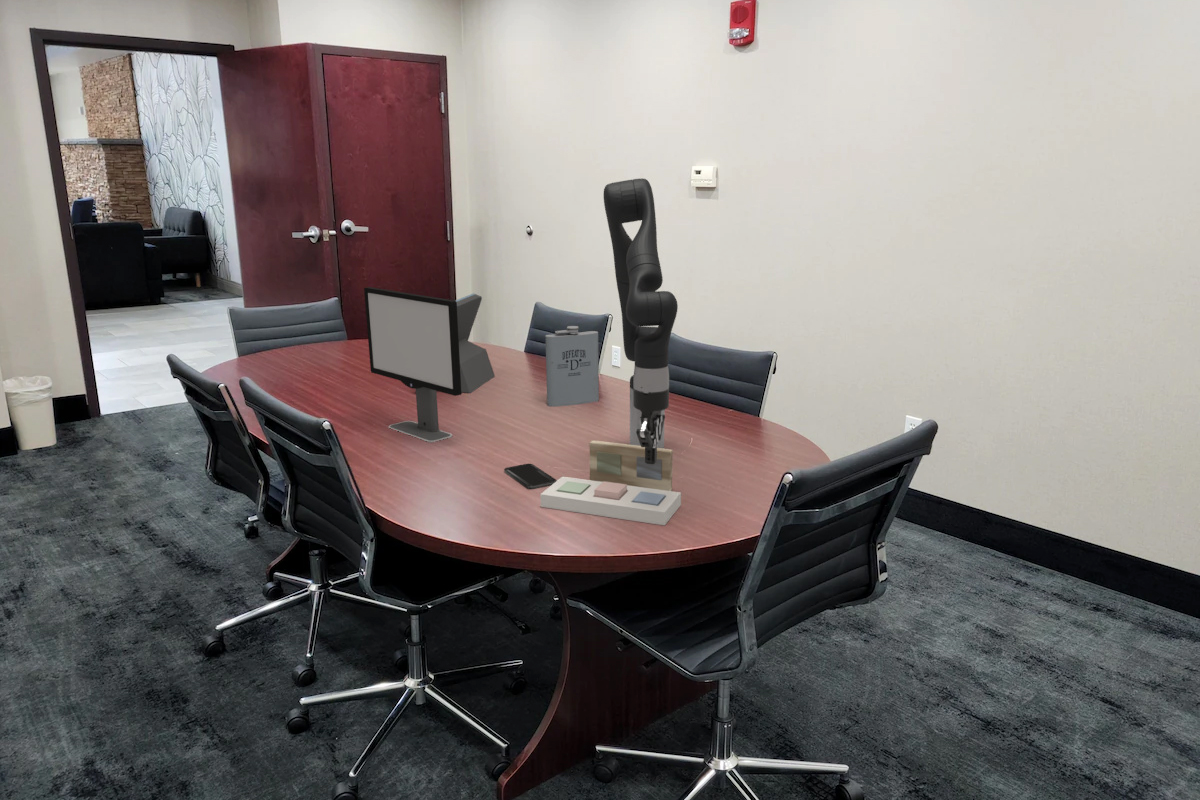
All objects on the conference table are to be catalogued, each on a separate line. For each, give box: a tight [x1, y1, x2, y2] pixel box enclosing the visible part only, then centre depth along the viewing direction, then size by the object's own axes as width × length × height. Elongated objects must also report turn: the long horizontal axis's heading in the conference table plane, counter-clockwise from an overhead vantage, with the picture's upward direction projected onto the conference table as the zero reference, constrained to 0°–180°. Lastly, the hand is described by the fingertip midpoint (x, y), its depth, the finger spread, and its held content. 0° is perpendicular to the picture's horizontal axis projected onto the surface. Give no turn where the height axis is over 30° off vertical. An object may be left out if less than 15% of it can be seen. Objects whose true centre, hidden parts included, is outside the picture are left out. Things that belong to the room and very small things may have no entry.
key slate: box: [633, 491, 665, 506], centre depth 186 cm, size 6×6×3 cm
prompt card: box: [588, 440, 674, 491], centre depth 200 cm, size 2×20×10 cm, turn 68°
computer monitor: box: [363, 286, 462, 443], centre depth 238 cm, size 41×8×40 cm, turn 47°
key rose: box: [594, 481, 627, 500], centre depth 189 cm, size 6×6×3 cm
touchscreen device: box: [415, 293, 496, 394], centre depth 295 cm, size 35×20×30 cm, turn 167°
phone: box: [503, 463, 557, 490], centre depth 207 cm, size 8×1×15 cm
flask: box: [545, 325, 600, 407], centre depth 269 cm, size 17×5×25 cm, turn 112°
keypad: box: [539, 476, 682, 526], centre depth 189 cm, size 12×29×3 cm, turn 68°
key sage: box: [557, 481, 590, 495], centre depth 192 cm, size 6×6×3 cm
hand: (650, 462), depth 183 cm, fingers closed
